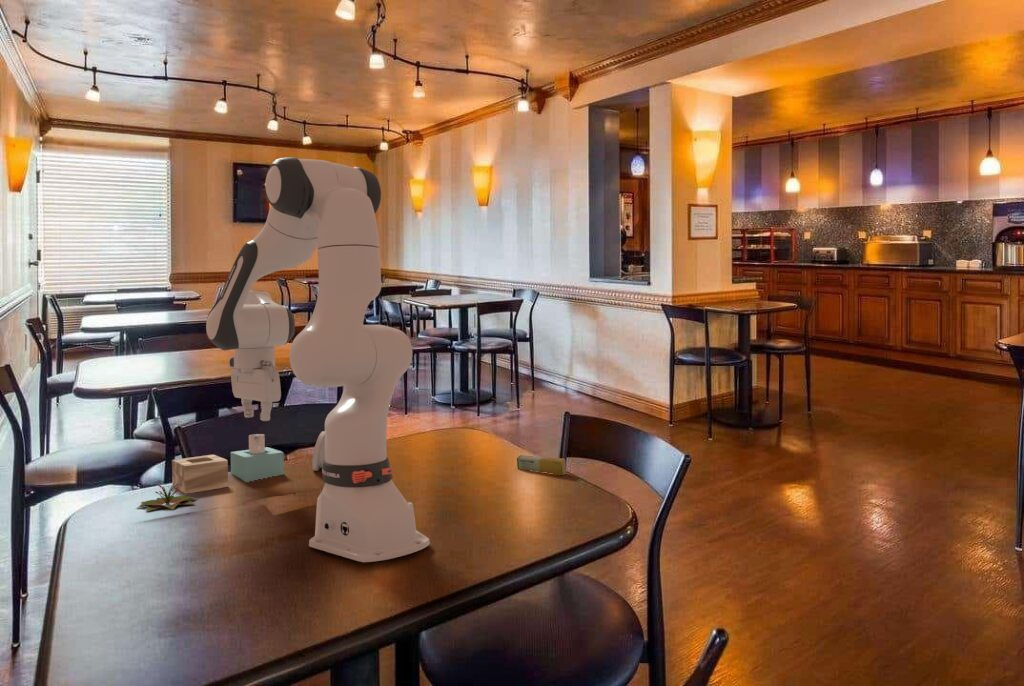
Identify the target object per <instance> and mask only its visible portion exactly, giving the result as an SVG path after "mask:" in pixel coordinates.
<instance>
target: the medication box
mask: <svg viewBox="0 0 1024 686" xmlns="http://www.w3.org/2000/svg"><path fill="white" fill-rule="evenodd" d="M566 464H567V463H566V458H558V457H546V456H536V455H535V456H534V455H523V454H522V455H519V456H517V458H516V466H517V470H520V469H524V470H523V471H525V470H532V471H538V472H547V473H553V474H557V475H564V474H565V475H567V465H566ZM565 475H564V476H565Z"/></svg>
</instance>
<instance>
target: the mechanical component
mask: <svg viewBox="0 0 1024 686" xmlns="http://www.w3.org/2000/svg"><path fill="white" fill-rule="evenodd" d="M315 442H316V443H315V445H314V449H313V454H312V463H311V464H312V465H311V466H312V471H313V470H314V472H315V471H316V472H317V471H320V469H322V468H323V462H324V461H325V430H324V431H321V432H320V433H319V435H318V437H317V439H316V441H315Z"/></svg>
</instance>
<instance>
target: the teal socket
mask: <svg viewBox="0 0 1024 686" xmlns="http://www.w3.org/2000/svg"><path fill="white" fill-rule="evenodd" d="M284 459H285V458H284V452H283V451H281V450H278V449H275V448H272V447H267V446H265V453H261V454H254V455H250V454H249V449H245V450H244V449H242V450H236V451H230V474H232V475H233V476H235V477H236V478H238V479H239V480H240V481H241V480H242V481H243V482H245V483H246V482H248V483H250V482H249V481H252V482H255V481H254V480H257V481H259V480H258V479H261V480H264V479H263V478H265V479H268V477H270V478H273V477H272V476H274V477H278V476H283V475H284V474H285V468H284V467H285V465H284Z"/></svg>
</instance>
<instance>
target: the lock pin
mask: <svg viewBox="0 0 1024 686" xmlns="http://www.w3.org/2000/svg"><path fill="white" fill-rule="evenodd" d="M265 436H266V435H265V434H264V433H263V434H262V433H256V434H255V433H254V434H249V435H248V450H249V454H250V455H254V454H261V453H265V447H266V446H265V445H266V443H265V442H266V441H265V439H266V438H265Z"/></svg>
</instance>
